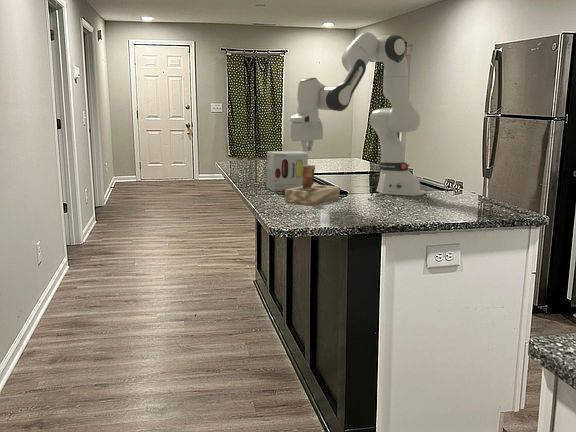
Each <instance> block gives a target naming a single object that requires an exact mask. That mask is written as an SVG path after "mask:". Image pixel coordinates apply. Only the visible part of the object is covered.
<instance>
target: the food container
mask: <svg viewBox="0 0 576 432" xmlns="http://www.w3.org/2000/svg"><path fill="white" fill-rule="evenodd" d="M310 166H312V184H315V171H316V165H315V164H314V165H313V164H312V165H311V164H310Z"/></svg>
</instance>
